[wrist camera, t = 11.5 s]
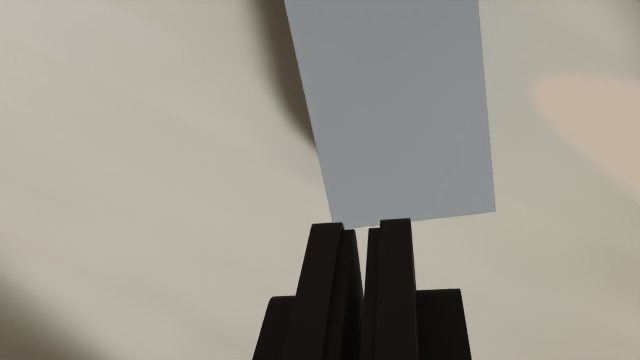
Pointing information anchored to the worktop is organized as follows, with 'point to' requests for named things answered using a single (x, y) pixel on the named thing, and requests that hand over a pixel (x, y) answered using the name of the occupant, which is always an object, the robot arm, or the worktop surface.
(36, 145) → the worktop surface
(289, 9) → the slate slab
